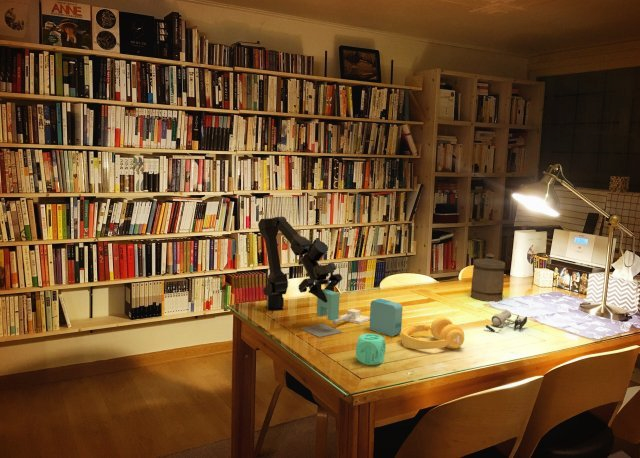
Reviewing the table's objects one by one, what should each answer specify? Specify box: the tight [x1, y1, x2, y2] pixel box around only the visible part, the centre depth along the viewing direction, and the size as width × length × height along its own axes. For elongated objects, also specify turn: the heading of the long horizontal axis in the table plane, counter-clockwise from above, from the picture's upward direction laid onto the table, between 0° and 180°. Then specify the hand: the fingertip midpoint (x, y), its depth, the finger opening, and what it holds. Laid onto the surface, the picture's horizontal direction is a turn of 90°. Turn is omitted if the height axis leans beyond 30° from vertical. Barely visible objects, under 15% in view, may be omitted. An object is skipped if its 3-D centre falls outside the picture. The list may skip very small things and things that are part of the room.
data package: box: [369, 298, 403, 337], centre depth 212 cm, size 12×4×12 cm, turn 47°
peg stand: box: [332, 308, 370, 325], centre depth 223 cm, size 10×19×4 cm, turn 145°
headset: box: [401, 316, 465, 350], centre depth 200 cm, size 18×21×9 cm
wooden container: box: [470, 253, 506, 302], centre depth 270 cm, size 15×15×22 cm
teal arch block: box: [316, 288, 340, 321], centre depth 212 cm, size 8×4×10 cm, turn 42°
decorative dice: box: [355, 333, 387, 366], centre depth 182 cm, size 8×8×8 cm
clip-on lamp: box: [484, 309, 528, 333], centre depth 222 cm, size 12×6×18 cm
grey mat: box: [299, 323, 343, 338], centre depth 212 cm, size 12×11×1 cm
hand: (330, 301), depth 211 cm, fingers closed on teal arch block, 4 cm apart
